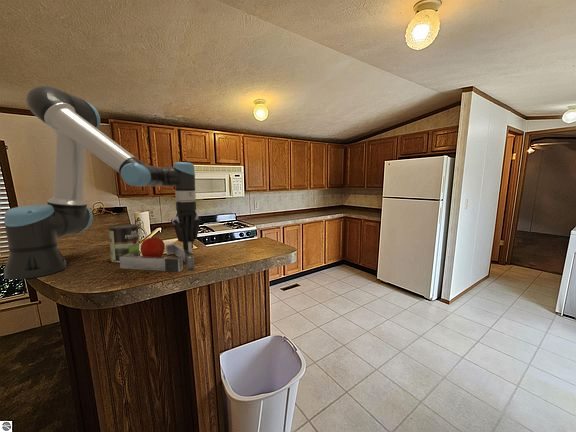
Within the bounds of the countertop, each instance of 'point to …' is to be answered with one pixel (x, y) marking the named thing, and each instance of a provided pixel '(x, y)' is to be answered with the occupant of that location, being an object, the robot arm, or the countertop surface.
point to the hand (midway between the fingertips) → (188, 256)
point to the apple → (152, 247)
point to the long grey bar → (155, 263)
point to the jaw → (178, 251)
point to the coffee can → (123, 241)
